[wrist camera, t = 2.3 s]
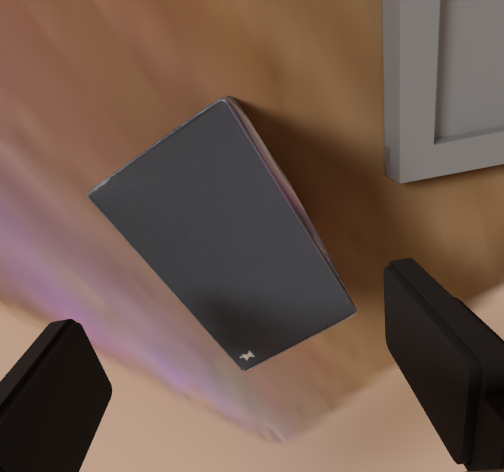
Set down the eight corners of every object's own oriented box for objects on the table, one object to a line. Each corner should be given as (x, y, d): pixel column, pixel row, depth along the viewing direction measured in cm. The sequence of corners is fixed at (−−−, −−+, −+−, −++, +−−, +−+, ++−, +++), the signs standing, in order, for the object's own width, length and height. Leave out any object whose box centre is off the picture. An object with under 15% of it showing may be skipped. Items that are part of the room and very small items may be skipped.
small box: (316, 224, 23) (368, 317, 14) (241, 267, 25) (241, 380, 15) (234, 88, 20) (229, 89, 10) (150, 148, 21) (74, 199, 11)
